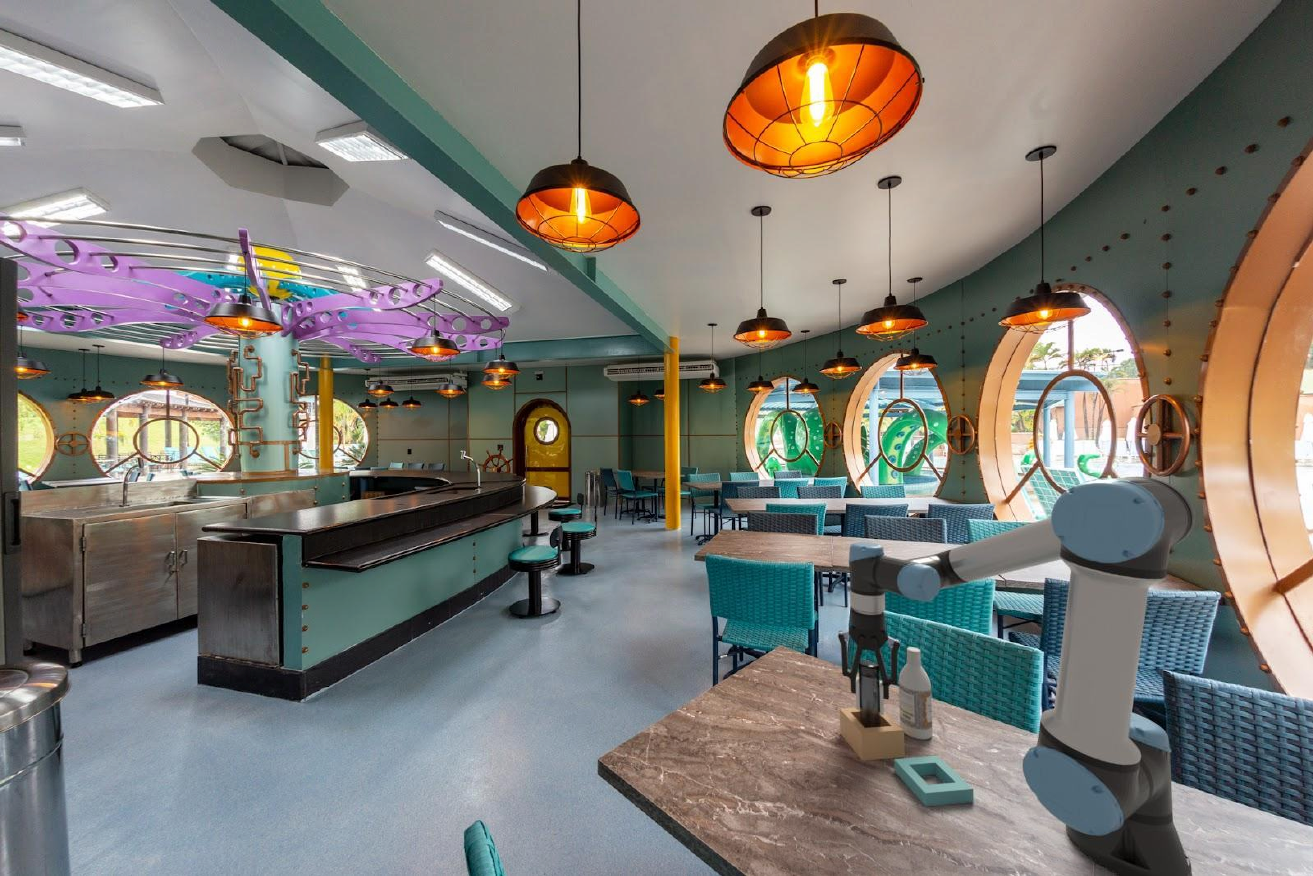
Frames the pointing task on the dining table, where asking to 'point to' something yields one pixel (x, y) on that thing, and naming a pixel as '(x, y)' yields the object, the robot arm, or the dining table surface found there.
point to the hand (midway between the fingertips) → (870, 709)
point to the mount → (936, 793)
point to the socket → (872, 736)
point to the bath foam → (915, 698)
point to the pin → (869, 694)
